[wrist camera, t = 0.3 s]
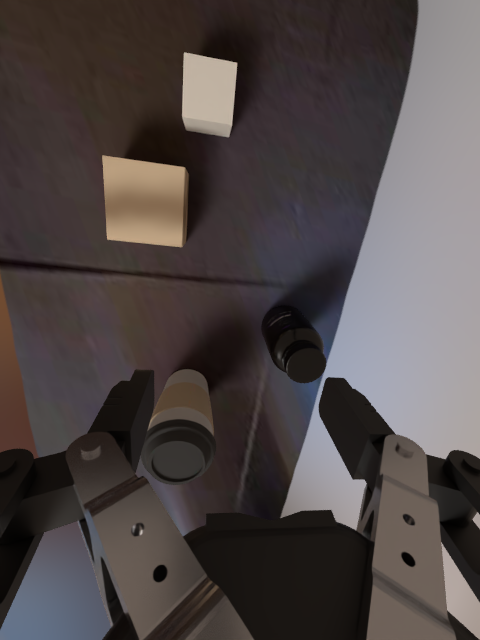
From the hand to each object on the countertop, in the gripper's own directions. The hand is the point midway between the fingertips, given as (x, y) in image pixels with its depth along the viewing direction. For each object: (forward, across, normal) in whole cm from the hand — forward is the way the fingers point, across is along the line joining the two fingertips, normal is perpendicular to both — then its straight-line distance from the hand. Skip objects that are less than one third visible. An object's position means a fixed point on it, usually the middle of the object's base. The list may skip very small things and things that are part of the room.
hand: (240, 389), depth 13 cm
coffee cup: (+27, +4, +20) cm, 34 cm away
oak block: (+28, +9, -7) cm, 30 cm away
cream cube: (+28, +3, -18) cm, 33 cm away
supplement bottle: (+28, -10, +8) cm, 30 cm away
